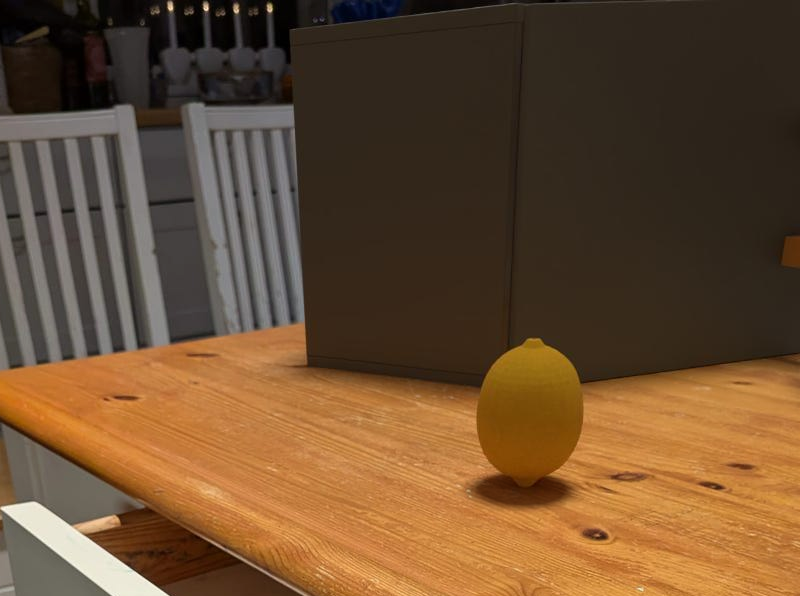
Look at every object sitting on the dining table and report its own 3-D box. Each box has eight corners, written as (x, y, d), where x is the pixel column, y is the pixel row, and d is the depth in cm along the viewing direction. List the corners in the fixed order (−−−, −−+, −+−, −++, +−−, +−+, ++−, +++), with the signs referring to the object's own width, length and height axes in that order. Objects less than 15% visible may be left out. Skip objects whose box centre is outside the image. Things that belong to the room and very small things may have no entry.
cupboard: (631, 326, 88) (664, 18, 77) (499, 391, 71) (516, 2, 59) (460, 313, 98) (467, 38, 87) (306, 367, 80) (289, 29, 69)
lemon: (466, 501, 51) (471, 348, 47) (482, 468, 56) (487, 326, 52) (573, 508, 50) (586, 350, 46) (580, 473, 54) (593, 327, 50)
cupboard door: (876, 370, 70) (965, -19, 59) (562, 415, 64) (594, -12, 52) (797, 349, 77) (863, -4, 66) (505, 389, 71) (523, 5, 59)
